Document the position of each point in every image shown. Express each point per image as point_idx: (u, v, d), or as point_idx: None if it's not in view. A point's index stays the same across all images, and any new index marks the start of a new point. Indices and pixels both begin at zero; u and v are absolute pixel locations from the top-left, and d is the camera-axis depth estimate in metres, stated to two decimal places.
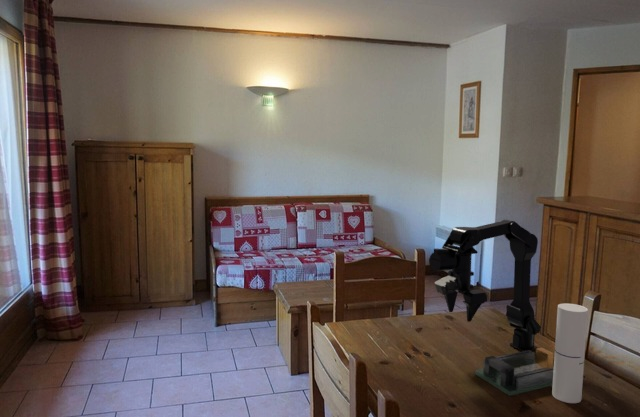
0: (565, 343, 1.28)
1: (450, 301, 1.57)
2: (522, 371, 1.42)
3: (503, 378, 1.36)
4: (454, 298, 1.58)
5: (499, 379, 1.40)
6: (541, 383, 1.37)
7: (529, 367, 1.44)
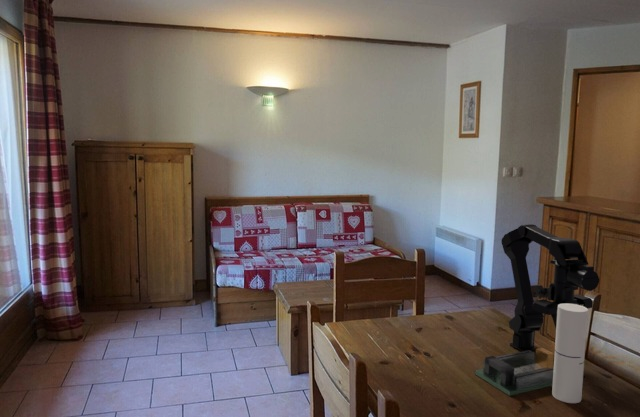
0: (565, 343, 1.28)
1: None
2: (522, 371, 1.42)
3: (503, 378, 1.36)
4: None
5: (499, 379, 1.40)
6: (541, 383, 1.37)
7: (529, 367, 1.44)
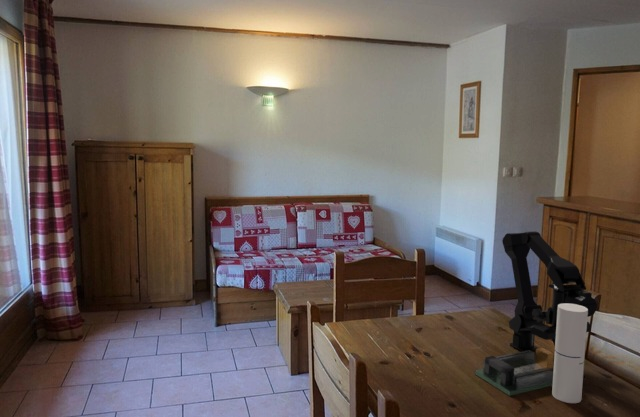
0: (565, 343, 1.28)
1: None
2: (522, 371, 1.42)
3: (503, 378, 1.36)
4: None
5: (499, 379, 1.40)
6: (541, 383, 1.37)
7: (529, 367, 1.44)
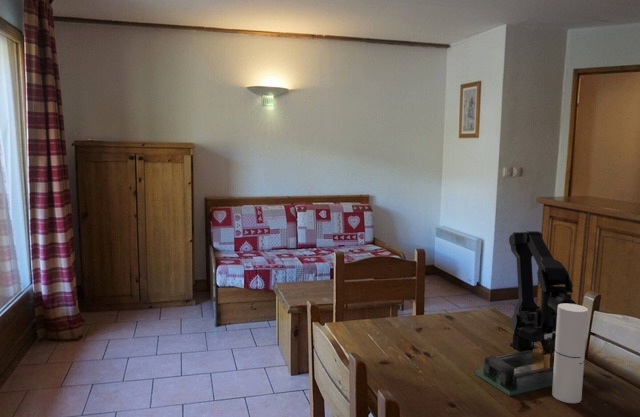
0: (565, 343, 1.28)
1: None
2: (518, 372, 1.41)
3: (503, 378, 1.36)
4: (553, 345, 1.45)
5: (499, 379, 1.40)
6: (541, 383, 1.37)
7: (525, 368, 1.44)
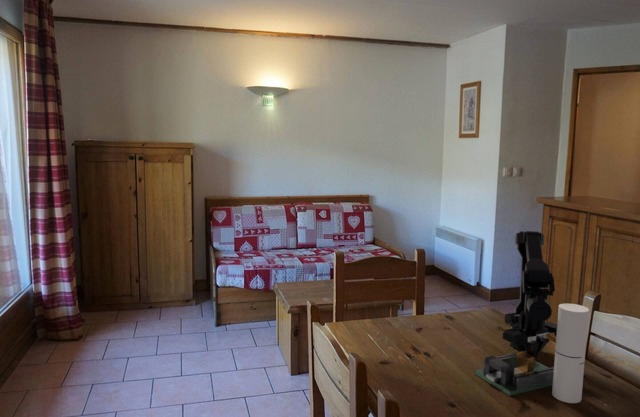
0: (565, 343, 1.28)
1: None
2: None
3: (503, 378, 1.36)
4: (538, 348, 1.43)
5: None
6: (541, 383, 1.37)
7: None
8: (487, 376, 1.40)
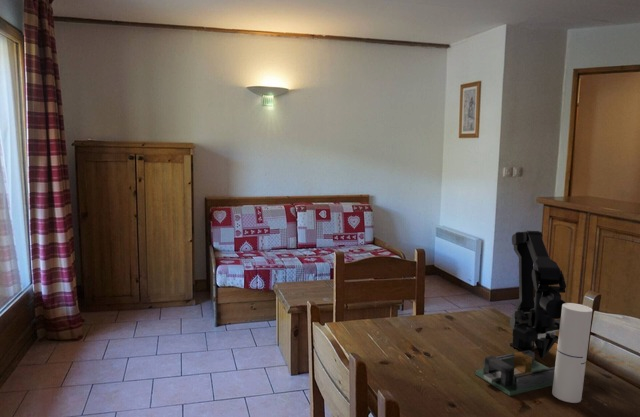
0: (567, 342, 1.28)
1: None
2: (499, 376, 1.39)
3: (503, 378, 1.36)
4: (547, 345, 1.44)
5: None
6: (541, 383, 1.37)
7: None
8: (485, 377, 1.39)
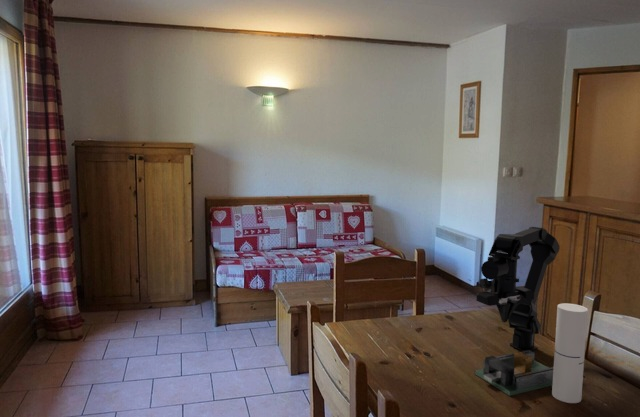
0: (564, 343, 1.28)
1: None
2: (499, 376, 1.39)
3: (503, 378, 1.36)
4: (509, 310, 1.54)
5: None
6: (541, 383, 1.37)
7: None
8: (485, 377, 1.39)
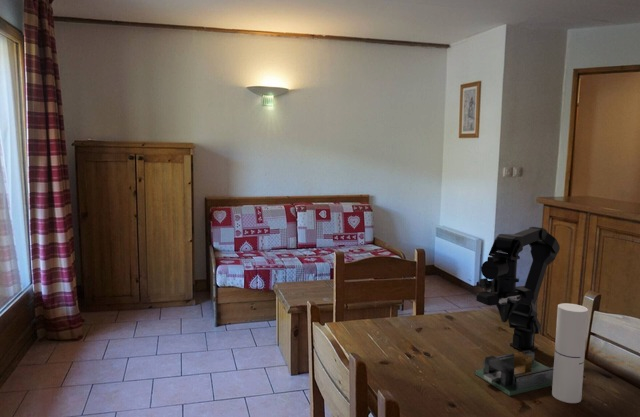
0: (564, 343, 1.28)
1: None
2: (499, 376, 1.39)
3: (503, 378, 1.36)
4: (509, 310, 1.54)
5: None
6: (541, 383, 1.37)
7: None
8: (485, 377, 1.39)
